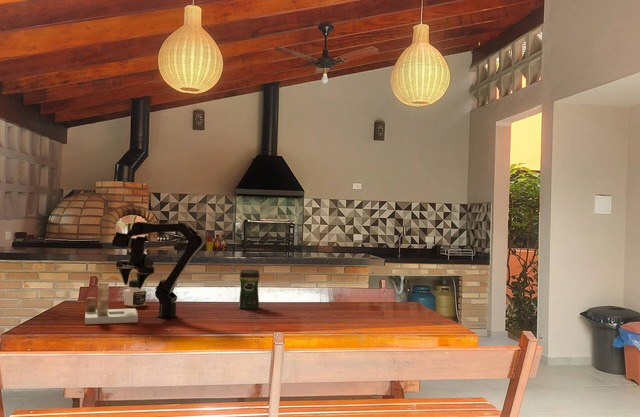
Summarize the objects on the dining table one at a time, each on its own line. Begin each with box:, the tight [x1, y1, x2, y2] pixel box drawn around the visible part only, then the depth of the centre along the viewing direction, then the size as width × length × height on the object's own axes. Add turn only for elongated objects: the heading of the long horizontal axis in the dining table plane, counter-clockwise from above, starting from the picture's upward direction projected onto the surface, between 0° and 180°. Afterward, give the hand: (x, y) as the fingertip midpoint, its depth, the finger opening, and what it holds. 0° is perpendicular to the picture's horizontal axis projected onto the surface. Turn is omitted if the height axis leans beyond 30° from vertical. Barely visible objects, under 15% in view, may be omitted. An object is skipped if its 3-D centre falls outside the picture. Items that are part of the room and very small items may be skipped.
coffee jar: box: [238, 268, 260, 310], centre depth 269 cm, size 10×8×19 cm
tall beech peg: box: [96, 282, 110, 316], centre depth 228 cm, size 4×4×13 cm
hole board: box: [84, 308, 139, 325], centre depth 233 cm, size 20×17×2 cm
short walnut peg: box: [85, 296, 97, 313], centre depth 235 cm, size 4×4×6 cm
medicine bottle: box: [123, 278, 147, 308], centre depth 266 cm, size 7×7×12 cm
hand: (132, 286), depth 241 cm, fingers open, 9 cm apart
